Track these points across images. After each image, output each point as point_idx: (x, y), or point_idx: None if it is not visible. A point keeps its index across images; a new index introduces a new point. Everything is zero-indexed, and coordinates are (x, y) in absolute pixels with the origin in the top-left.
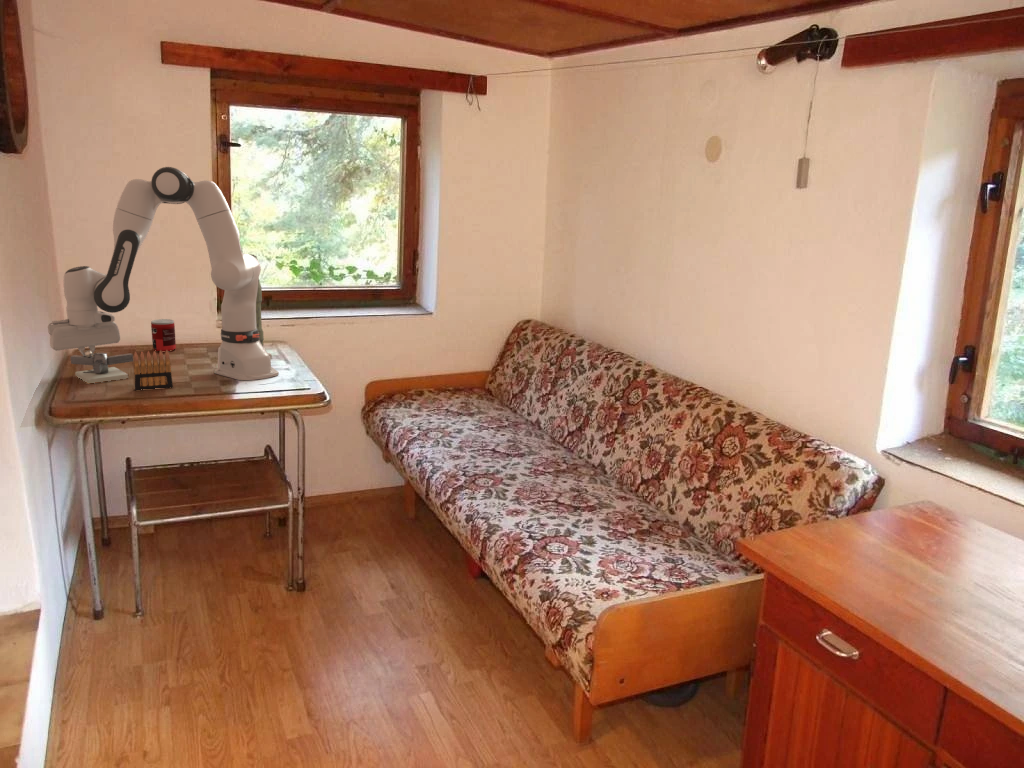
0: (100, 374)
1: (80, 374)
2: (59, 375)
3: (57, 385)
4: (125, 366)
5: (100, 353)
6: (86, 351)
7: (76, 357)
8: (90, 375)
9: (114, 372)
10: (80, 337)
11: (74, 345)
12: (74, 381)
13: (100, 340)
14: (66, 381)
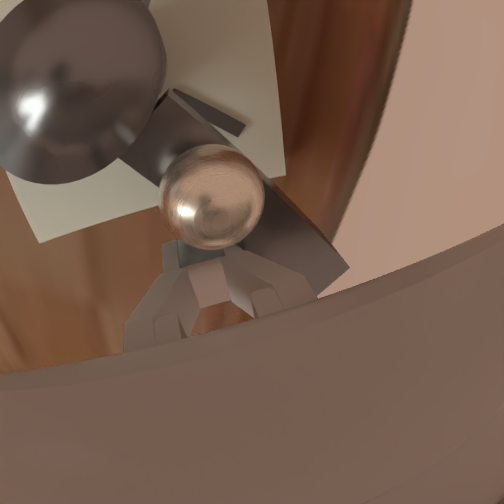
0: None
1: (271, 81)
2: (337, 219)
3: (394, 11)
4: (27, 309)
5: (44, 113)
6: (250, 201)
7: (315, 232)
8: (208, 17)
9: None
10: (403, 440)
11: (425, 289)
12: (306, 39)
13: (38, 423)
14: (344, 65)
